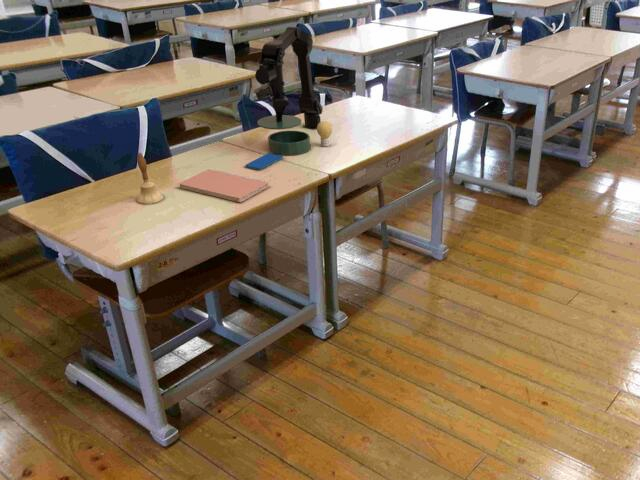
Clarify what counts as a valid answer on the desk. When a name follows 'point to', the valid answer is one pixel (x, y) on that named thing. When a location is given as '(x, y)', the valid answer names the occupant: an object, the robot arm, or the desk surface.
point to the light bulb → (324, 132)
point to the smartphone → (264, 161)
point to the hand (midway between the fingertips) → (279, 118)
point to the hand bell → (147, 185)
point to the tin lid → (279, 122)
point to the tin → (289, 143)
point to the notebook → (224, 185)
